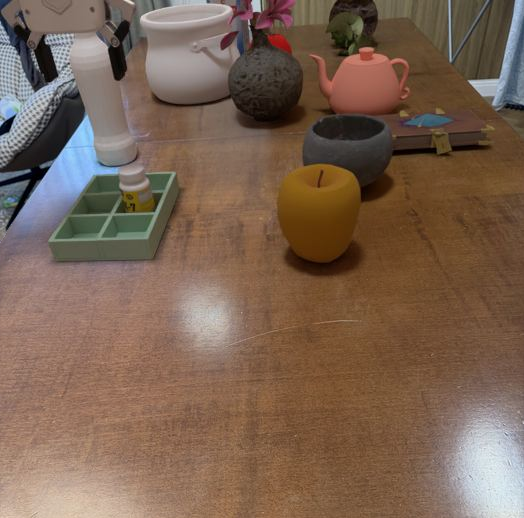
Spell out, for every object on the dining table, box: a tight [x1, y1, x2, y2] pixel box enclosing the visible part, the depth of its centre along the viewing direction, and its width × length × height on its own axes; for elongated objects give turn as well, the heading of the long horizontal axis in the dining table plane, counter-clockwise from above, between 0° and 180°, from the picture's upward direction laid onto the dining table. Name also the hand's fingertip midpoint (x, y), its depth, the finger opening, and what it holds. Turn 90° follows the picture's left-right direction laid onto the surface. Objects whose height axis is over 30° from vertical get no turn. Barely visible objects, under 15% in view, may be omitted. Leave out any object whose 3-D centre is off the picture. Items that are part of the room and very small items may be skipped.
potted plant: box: [325, 0, 379, 57], centre depth 144 cm, size 16×15×35 cm
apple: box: [276, 164, 362, 264], centre depth 68 cm, size 11×11×13 cm
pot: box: [139, 3, 240, 105], centre depth 125 cm, size 26×24×18 cm
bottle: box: [69, 31, 138, 167], centre depth 93 cm, size 8×8×30 cm
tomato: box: [249, 31, 293, 56], centre depth 135 cm, size 11×13×10 cm
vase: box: [220, 0, 304, 124], centre depth 104 cm, size 17×18×30 cm
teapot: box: [308, 47, 411, 116], centre depth 109 cm, size 22×16×12 cm
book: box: [373, 107, 496, 156], centre depth 98 cm, size 16×25×5 cm, turn 90°
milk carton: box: [205, 0, 251, 56], centre depth 146 cm, size 10×6×20 cm, turn 73°
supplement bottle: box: [117, 163, 156, 213], centre depth 80 cm, size 5×5×8 cm
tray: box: [47, 171, 181, 262], centre depth 82 cm, size 15×22×4 cm
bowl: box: [301, 114, 394, 189], centre depth 85 cm, size 15×15×10 cm
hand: (86, 78), depth 69 cm, fingers open, 9 cm apart
